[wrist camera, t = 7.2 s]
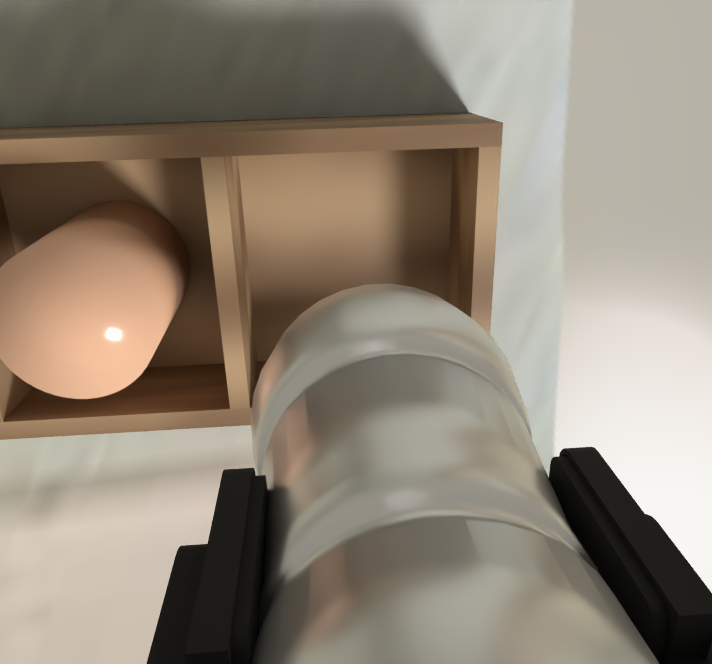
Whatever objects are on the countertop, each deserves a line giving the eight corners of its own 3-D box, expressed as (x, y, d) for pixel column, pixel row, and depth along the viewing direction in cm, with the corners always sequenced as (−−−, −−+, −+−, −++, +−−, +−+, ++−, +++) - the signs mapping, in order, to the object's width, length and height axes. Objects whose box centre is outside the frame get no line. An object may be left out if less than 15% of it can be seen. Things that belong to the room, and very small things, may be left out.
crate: (-28, 128, 26) (-100, 143, 21) (469, 112, 27) (502, 122, 22) (36, 383, 30) (-12, 440, 26) (459, 360, 31) (485, 410, 27)
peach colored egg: (46, 203, 27) (-37, 248, 20) (181, 197, 27) (142, 240, 20) (73, 327, 29) (6, 403, 22) (198, 320, 29) (167, 394, 23)
